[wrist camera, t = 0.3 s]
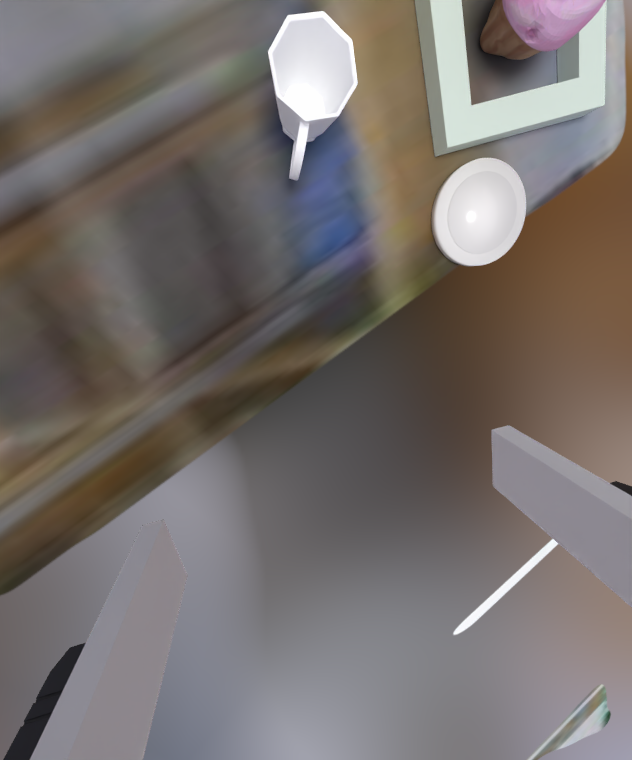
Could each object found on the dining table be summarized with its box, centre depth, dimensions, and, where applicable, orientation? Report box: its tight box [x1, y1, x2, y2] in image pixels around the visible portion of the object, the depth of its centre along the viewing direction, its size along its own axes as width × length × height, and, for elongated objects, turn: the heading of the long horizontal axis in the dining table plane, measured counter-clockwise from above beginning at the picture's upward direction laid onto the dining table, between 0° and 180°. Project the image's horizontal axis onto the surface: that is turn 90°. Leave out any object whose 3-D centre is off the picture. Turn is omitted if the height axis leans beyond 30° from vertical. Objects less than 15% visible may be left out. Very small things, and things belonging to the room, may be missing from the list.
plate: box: [431, 158, 526, 266], centre depth 37 cm, size 11×11×1 cm
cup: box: [268, 11, 358, 181], centre depth 29 cm, size 7×10×8 cm
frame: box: [415, 0, 607, 157], centre depth 32 cm, size 18×18×2 cm
